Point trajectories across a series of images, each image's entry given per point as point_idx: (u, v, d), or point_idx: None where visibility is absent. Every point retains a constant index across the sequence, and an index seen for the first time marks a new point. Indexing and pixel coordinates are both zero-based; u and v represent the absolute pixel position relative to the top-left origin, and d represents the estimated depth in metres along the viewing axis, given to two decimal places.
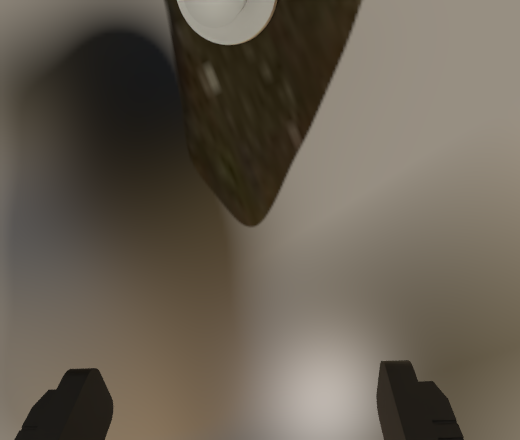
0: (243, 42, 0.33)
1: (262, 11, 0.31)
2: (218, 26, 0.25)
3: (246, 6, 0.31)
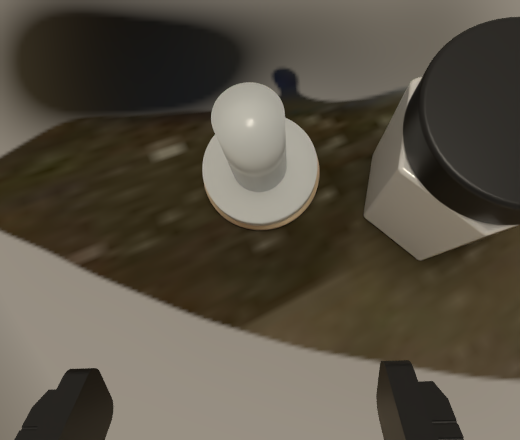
0: (205, 188, 0.28)
1: (236, 206, 0.26)
2: (212, 121, 0.20)
3: (242, 188, 0.26)
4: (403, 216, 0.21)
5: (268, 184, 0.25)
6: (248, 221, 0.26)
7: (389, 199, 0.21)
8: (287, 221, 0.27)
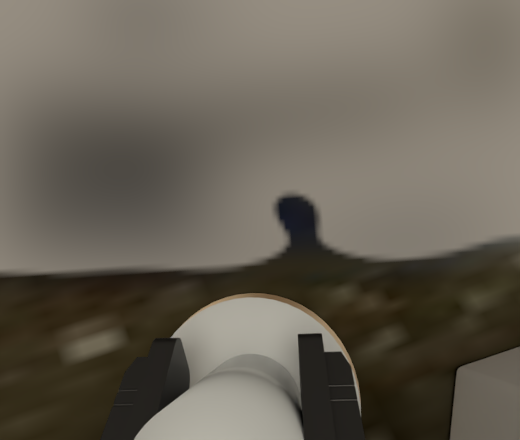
0: None
1: None
2: None
3: None
4: None
5: None
6: None
7: None
8: None
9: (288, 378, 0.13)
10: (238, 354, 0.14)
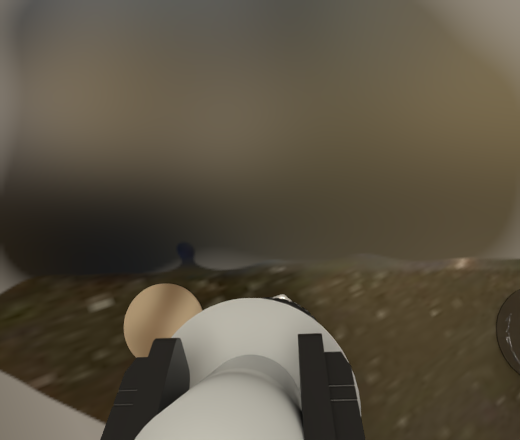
0: None
1: None
2: None
3: None
4: None
5: None
6: None
7: None
8: None
9: (288, 379, 0.13)
10: (238, 355, 0.14)
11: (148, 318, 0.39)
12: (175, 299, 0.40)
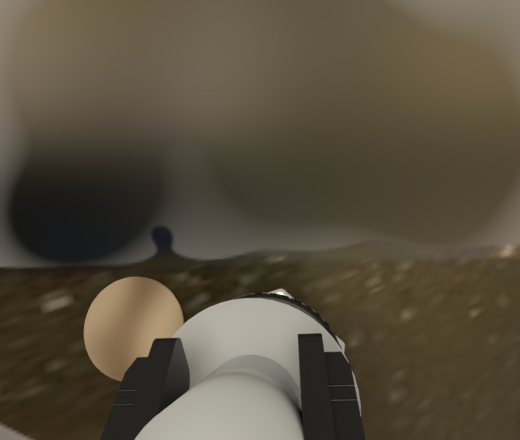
0: None
1: None
2: None
3: None
4: None
5: None
6: None
7: None
8: None
9: (288, 379, 0.13)
10: (238, 355, 0.14)
11: (114, 320, 0.32)
12: (148, 296, 0.32)
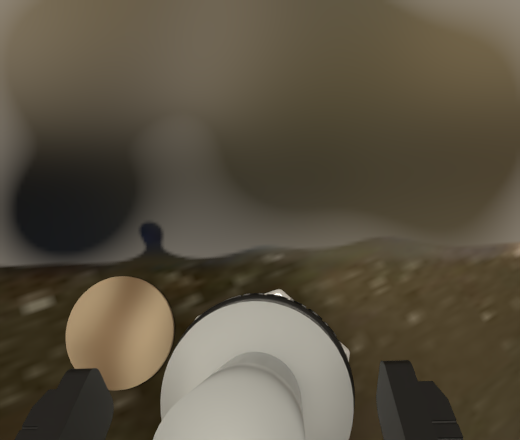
0: (66, 346, 0.29)
1: None
2: None
3: None
4: None
5: None
6: None
7: None
8: (139, 383, 0.28)
9: (289, 373, 0.15)
10: (244, 352, 0.16)
11: (98, 323, 0.29)
12: (135, 297, 0.30)
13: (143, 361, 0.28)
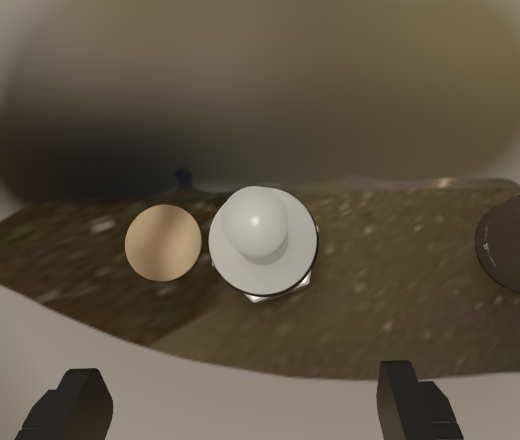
0: (126, 253, 0.41)
1: (240, 278, 0.28)
2: (222, 223, 0.21)
3: (246, 261, 0.28)
4: None
5: (270, 261, 0.27)
6: (252, 292, 0.28)
7: None
8: (178, 276, 0.41)
9: None
10: None
11: (148, 236, 0.42)
12: (174, 219, 0.42)
13: (180, 261, 0.41)
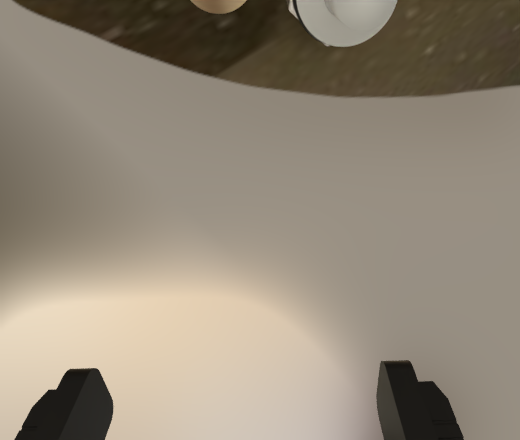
0: None
1: (325, 33, 0.31)
2: (337, 3, 0.24)
3: (331, 15, 0.31)
4: None
5: None
6: (334, 45, 0.32)
7: None
8: (237, 7, 0.41)
9: None
10: None
11: None
12: None
13: None
